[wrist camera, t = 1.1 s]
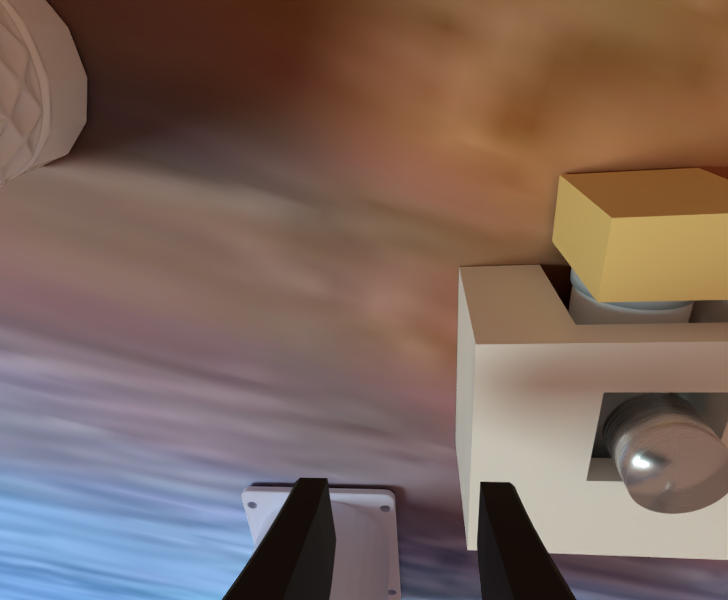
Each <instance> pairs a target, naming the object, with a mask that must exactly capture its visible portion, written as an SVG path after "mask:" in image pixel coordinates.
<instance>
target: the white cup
mask: <svg viewBox="0 0 728 600" xmlns="http://www.w3.org/2000/svg"><path fill="white" fill-rule="evenodd" d="M86 122H87V75H86V73H85V70H84V67H83V65H82V62H81V59H80V57H79V54H78V51H77V49H76V46H75V44H74V41H73V38H72V36H71V33H70V30H69V28H68V27H67V25H66V24H65V23H64V22H63V20H62V19H61V18H60V17H59V16H58V14H57V13H56V12H55V11H54V9H53V8H52V7H51V6H50V5H49V3H48V2H47V1H46V0H0V187H2V186H4V185H5V184H6V183H7V182H8V181H9V180H10V179H12V178H14V177H17V176H19V175H22V174H25V173H27V172H30V171H33V170H35V169H38V168H40V167H42V166H44V165H46V164H48V163H50V162H52V161H54V160H57V159H59V158H61V157H63V156H65V155H67V154H68V153H69V152H70V150H71V148H72V147H73V145H74V143H75V141H76V140H77V138H78V136H79V134H80V133H81V131H82V129H83V127H84V126H85V124H86Z"/></svg>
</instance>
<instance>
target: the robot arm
mask: <svg viewBox="0 0 728 600" xmlns="http://www.w3.org/2000/svg"><path fill="white" fill-rule="evenodd" d="M242 501H243V504H244V508H245V512H246V515H247V519H248V523H249V526H250V530H251V534H252V537H253V541H254V545H255V546H254V549H253V552H252V555H251V558H250V560H249V561H248V563H247V564H246V566H245V567H244V569H243V570H242V572H241V573H240V575H239V576H238V578H237V579H236V581H235V582H234V583H233V585H232V586H231V588H230V589H229V590H228V592H227V593H226V595H225V596H224V597H223V599H222V600H401V585H400V569H399V553H398V537H397V520H396V504H395V495H394V493H393V492H391V491H389V490H385V489H347V488H329V487H328V480H327V478H299V479H298V480H297V481H296V482H295V484H294V486H293V487H261V486H249V487H246V488H245V489H244V490H243V493H242ZM384 505H386V506H384ZM477 551H478V562H479V572H480V582H481V592H482V599H483V600H576V598H575V596H574V595H573V593H572V592H571V590H570V588H569V587H568V585H567V583H566V582H565V580H564V578H563V577H562V575H561V573H560V572H559V570H558V568H557V567H556V565H555V563H554V562H553V560H552V558H551V557H550V555H549V553H548V551H547V550H546V548H545V546H544V544H543V542H542V541H541V539H540V537H539V535H538V533H537V531H536V530H535V528H534V526H533V524H532V522H531V520H530V518H529V516H528V514H527V512H526V510H525V508H524V506H523V504H522V502H521V499H520V497H519V495H518V493H517V490H516V488H515V486H514V485H513V484H511V483H510V482H480V496H479V515H478V533H477Z"/></svg>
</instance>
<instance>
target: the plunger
mask: <svg viewBox="0 0 728 600" xmlns="http://www.w3.org/2000/svg"><path fill="white" fill-rule="evenodd" d="M602 438H603V441H604V443H605V445H606V447H607V449H608V451H609V453H610V455H611V457H612V459H613V462H614V464H615V466H616V468H617V470H618V472H619V474H620V476H621V478H622V480H623V482H624V484H625V486H626V488H627V490H628V492H629V494H630V496H631V497H632V499H633V500H634V501H635V502H636V503H637V504H639V505H640V506H642V507H644V508H646V509H648V510H651V511H654V512H659V513H666V514H679V513H687V512H692V511H696V510H699V509H702V508H705V507H707V506H710V505H712V504H714V503H715V502H717V501H719V500H720V499H721V498H723V497H724V496H725V495H726V494H727V493H728V449H727V447H726V446H725V445H724V444H723V442H722V441H721V440H720V439H719V437H718V436H717V435H716V434H715V432H714V431H713V430H712V429H711V427H710V426H709V425H708V424H707V422H706V421H705V420H704V419H703V417H702V416H701V415H700V414H699V412H698V411H697V410H696V408H695V407H694V406H693V405H692V404H691V403H690V402H689V401H688V400H686V399H684V398H682V397H680V396H678V395H674V394H670V393H648V394H643V395H639V396H636V397H633V398H631V399H629V400H626V401H625V402H623V403H621V404H620V405H619V406H617V407H616V408H615V409H614V410H613V411H612V412H611V413H610V414H609V415H608V417H607V418H606V420H605V422H604V424H603V428H602Z"/></svg>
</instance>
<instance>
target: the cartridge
mask: <svg viewBox="0 0 728 600" xmlns="http://www.w3.org/2000/svg"><path fill="white" fill-rule="evenodd" d="M552 242H553V243H554V244H555V246H556V247H557V248H558V250H559V251H560V252H561V254H562V255H563V257H564V258H565V259H566V261H567V262H568V263H569V265H570V266H571V267H572V268H571V275H570V281H571V283H572V290H571V297H570V304H569V311H568V313H569V314H570V316H571V318H572V319H573V321H574V323H575V324H576V325H598V324H661V323H688V321H689V318H690V314H691V310H692V307H693V303H694V302H695V301H696V300H728V179H725V178H723V177H720V176H718V175H715V174H713V173H710V172H708V171H705V170H703V169H700V168H683V169H663V170H644V171H624V172H605V173H585V174H565V175H560V177H559V186H558V195H557V203H556V212H555V221H554V229H553V238H552ZM648 393H669V392H604V394H603V399H602V404H601V409H600V414H599V419H598V424H597V429H596V434H595V439H594V444H593V449H592V455H591V458H612V457H611V455H610V453H609V451H608V449H607V447H606V445H605V443H604V441H603V438H602V428H603V424H604V422H605V420H606V418H607V417H608V415H609V414H610V413H611V412H612V411H613V410H614V409H615V408H616V407H617V406H619V405H620V404H621V403H623V402H625V401H626V400H629V399H631V398H633V397H636V396H639V395H643V394H648Z"/></svg>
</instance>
